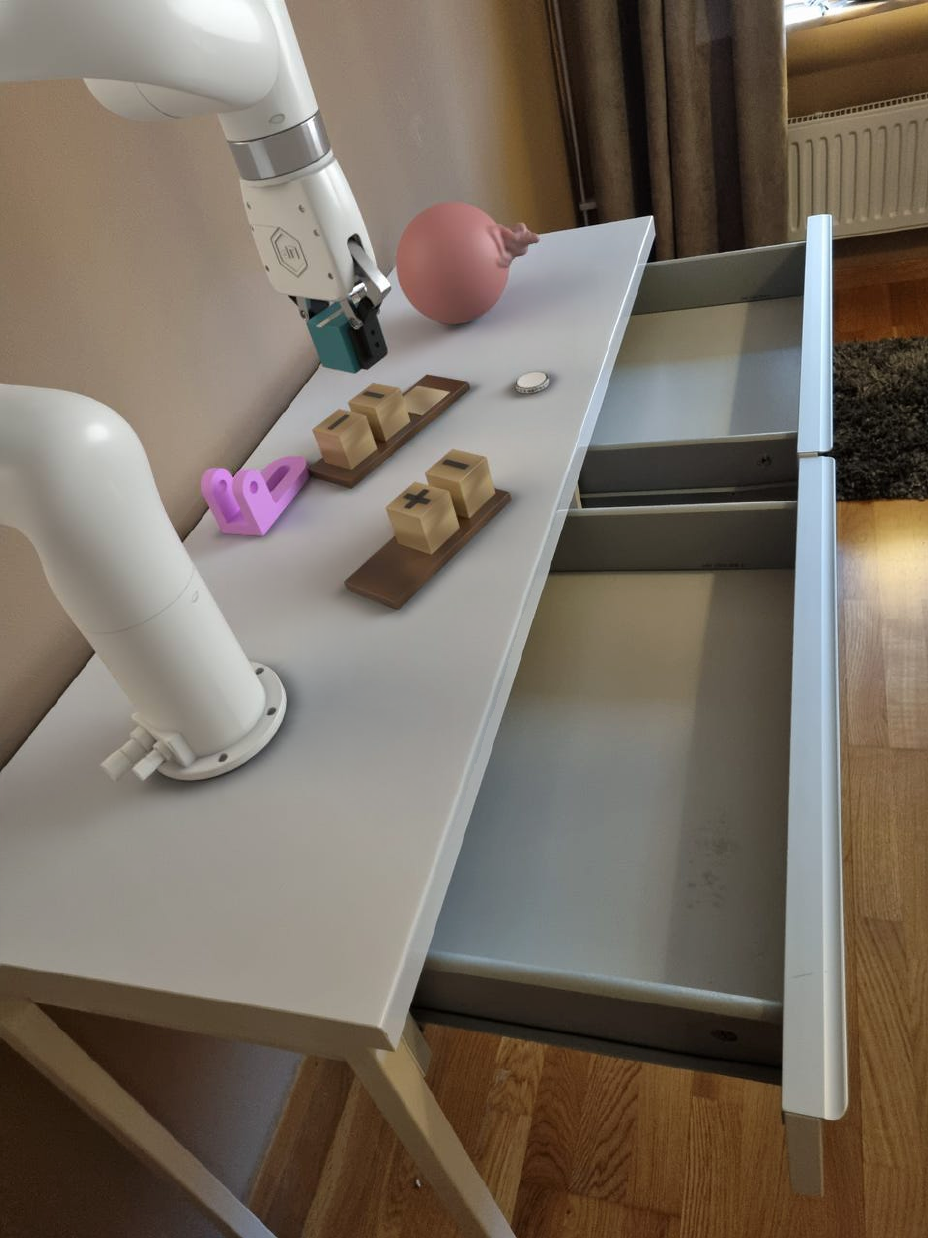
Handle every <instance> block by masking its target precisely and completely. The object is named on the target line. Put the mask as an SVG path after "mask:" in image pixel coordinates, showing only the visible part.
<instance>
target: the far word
mask: <svg viewBox="0 0 928 1238" xmlns="http://www.w3.org/2000/svg"><path fill="white" fill-rule="evenodd" d="M470 390H471V387H470V383H469V381H467V380H466V381H465V380H459V379H454V378H449V377H443V376H438V375H433V374H425V375H424V376H423V377H422V378H420V379H419V380H417V382H415V383H414V384H412V385H411V386H410V387H409V388H407V389H406V390H405V391H404V392H402V390H401V388H400V387H396V386H391V385H386V384H381V383H376V382H372V383H370V384H369V385H368V386H367V387H366V388H364V389H362V391H360V392H359V393H357V395H355V396H354V397H353V398H351V399H350V400H348V401H347V404H348V407H349V410H350V411H349V410H345V409H340V408H338V409H337V410H336V411H334V412H333V413H331V414H330V415H329V416H327V418H325V419H323V420H322V421H321V422H320V423H318V424H317V425H316V426H314V427H313V428H312V429H311V431H312V434H313V436H314V438H315V442H316V443H317V447H318V449H319V452H320V454H321V456H322V457H321V458H319V459H318V460H317V461H316V462H315V463H313V464H312V465H310V467H309V466H308V472H309V474H310V477H313V478H316V479H319V480H323V481H325V482H329V483H332V484H335V485H339V486H342V487H345V488H349V489H353V488H354V487H355V486H356V485H357V484H359V483H360V482H361V481H362V480H363V479H365V478H366V477H367V476H368V475H370V473H372V472H373V471H374V470H375V469H377V468H378V467H379V466H380V465H381V464H383V463H384V462H385V461H387V459H388V458H390V457H391V456H392V455H393V454H395V453H396V452H397V451H398V450H399V449H400V448H402V447H403V446H404V445H406V443H408V442H409V441H410V440H411V439H412V438H413V437H415V436H417V434H418V433H420V432H421V431H422V430H423V429H424V428H425V427H427V426H428V425H429V424H430V423H431V422H433V421H434V420H435V419H436V418H437V417H439V416H440V415H441V414H442V413H443V412H444V411H446V410H447V409H448V408H449V407H451V406H452V405H453V404H454V403H455V402H457V401H458V400H459V399H460V398H461V397H462V396H464V395H465V394H466V393H468V391H470Z"/></svg>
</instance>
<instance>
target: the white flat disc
mask: <svg viewBox="0 0 928 1238" xmlns="http://www.w3.org/2000/svg"><path fill="white" fill-rule="evenodd" d="M514 383H515V388H516V390H517V391H518V392H519V393H522V394H533V393H537V392H540V391H542V390H544V389H545V388H547V387H548V386H549V383H550V378H549V374H547V373H546V372H543V371H531V372H527V373H524V374H522V375H520V376H519V377H518V378H517V379H516V380H515V382H514Z"/></svg>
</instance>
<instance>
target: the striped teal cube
mask: <svg viewBox="0 0 928 1238" xmlns="http://www.w3.org/2000/svg"><path fill="white" fill-rule="evenodd" d="M352 301H353V303H354V305H355V307H356V308H357V306H358V303H359V301H360V297H355V298H354V299H352ZM377 319H378V322H379V325H380V328H381V331H382V334H383V337H384V340H385V343H386V346H387V349H388V345H387V342H386V339H385V336H384V333H383V330H382V327H381V322H380V320H379V317H378V316H377ZM305 323H306V327H307V329H308V332H309V334H310V337H311V340H312V343H313V345H314V348H315V351H316V353H317V355H318V359H319V361H320V364H321V366H322V367H323V368H326V369H330V370H335V371H341V372H344V373H350V374H357V373H359V372H360V371H361V370H362V369H361V367H360V365H359V362H358V359H357V356H356V353H355V350H354V347H353V345H352V342H351V339H350V336H349V333H348V329H349V328H351V327H352V326H351V325H350V323H349V321H348V319H347V317H346V315H345V313H344V311H343V309H342V307H341V305H340V303H339V302H332V304H330V305H329V307H327V308H326V309H324V310H323V311H321V312H320V313H319V314H317V315H316V316H314V317H313V318H311V319H310V320H309V321H305ZM388 350H389V349H388Z"/></svg>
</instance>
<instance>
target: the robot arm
mask: <svg viewBox="0 0 928 1238" xmlns="http://www.w3.org/2000/svg"><path fill="white" fill-rule="evenodd" d="M66 79H82V80H83V82H84V84H85V86H86V87H87V89H88V90H89V92H90V94H91V95H92V97H94V98H95V99H96V100H97V102H99V103H100V104H101V105H102V106H103V107H104V108H105V109H107V110H108V111H109V112H111V113H113V114H115V115H117V116H118V117H121V118H124V119H127V120H130V121H135V122H141V123H157V122H167V121H175V120H181V119H187V118H193V117H200V116H209V115H215V114H216V116H217V118H218V121H219V124H220V126H221V129H222V131H223V134H224V136H225V138H226V142H227V144H228V147H229V149H230V152H231V155H232V157H233V159H234V162H235V165H236V167H237V170H238V172H239V174H240V176H239V178H238V181H239V186H240V192H241V197H242V201H243V206H244V209H245V214H246V217H247V222H248V224H249V227H250V231H251V234H252V236H253V241H254V243H255V246H256V248H257V252H258V254H259V257H260V260H261V263H262V266H263V268H264V271H265V274H266V277H267V278H268V281H269V283H270V285H271V287H272V288H273V290H275V291H276V292H277V293H280V294H282V295H285V296H287V297H288V298H289V299H290V300H291V301H292V303H293V304H295V306H296V307H298V312H299V316H300V317H301V319H302V320H303V321H304V322H307V321H309V320H310V319H311V318H313V317H314V316H316V315H317V314H319V313H320V312H321V311H323V310H324V309H326V308H327V307H329V306H330V305H331V304H330V302H331V303H334V302H339V303H340V305H341V307H342V309H343V311H344V313H345V315H346V317H347V319H348V321H349V323H350V325H351V326H352V327H351V328H349V329H348V333H349V336H350V339H351V342H352V345H353V347H354V350H355V353H356V356H357V359H358V362H359V365H360V367H361V370H364V371H368V370H370V369H371V368H373V367H374V366H375V365H376V364H377V363H379V362H380V361H382V360H383V359H384V358H385V357H386V356H388V354H389V349H387V348H388V345H387V342H386V339H385V336H384V333H383V330H382V327H381V328H380V326H381V324H380V325H379V323H380V321H379V322H378V320H379V318H378V319H377V317H378V315H379V314H380V313H381V309H380V308H381V306H382V303H383V302H384V300H385V299H386V297H387V296H388V294H390V292H391V291H392V285H391V283H390V282H389V281H388V279H387V278H386V277H385V275H384V274H383V273H382V272H381V270H380V269H379V267H378V265H377V260H376V256H375V251H374V249H373V246H372V242H371V238H370V236H369V232H368V229H367V227H366V224H365V222H364V219H363V216H362V213H361V210H360V208H359V206H358V203H357V201H356V198H355V196H354V194H353V191H352V189H351V186H350V185H349V182H348V179H347V178H346V176H345V173H344V172H343V170H342V168H341V166H340V164H339V161H338V160H337V158H336V157H335V156H334V152H333V149H332V146H331V143H330V140H329V136H328V134H327V131H326V128H325V127H326V126H325V124H324V121H323V118H322V114H321V112H320V109H319V105H318V102H317V99H316V96H315V93H314V90H313V87H312V83H311V79H310V77H309V74H308V70H307V66H306V64H305V60H304V57H303V55H302V52H301V48H300V45H299V42H298V39H297V36H296V32H295V30H294V26H293V23H292V20H291V17H290V14H289V10H288V7H287V4H286V1H285V0H0V83H22V82H24V83H25V82H36V81H49V80H51V81H52V80H66ZM355 295H358V298H360V300H359V301H358V302H359V303H358V306H357V308H356V307H355V305H354V303H353V301H352V300H353V299H352V297H354V296H355ZM381 330H382V331H381ZM382 333H383V334H382ZM383 336H384V337H383ZM384 339H385V340H384ZM385 342H386V343H385ZM386 345H387V346H386ZM0 525H1V526H6V527H9V528H12V529H15V530H17V531H19V532H21V533H22V534H23V535H24V536H25V537H26V538H27V539H28V540H29V541H30V543H31V544H32V546H33V547H34V549H35V550H36V553H37V555H38V557H39V560H40V563H41V565H42V569H43V572H44V575H45V578H46V580H47V583H48V585H49V588H50V589H51V591H52V593H53V594H54V596H55V598H56V599H57V601H58V602H59V604H60V605H61V607H62V609H64V612H65V613H66V614H67V616H68V617H69V618H70V620H71V621H72V622H73V624H74V625H75V626H76V627H77V629H78V631H80V633H81V634H82V636H83V637H84V638H85V639H86V641H87V642H88V645H90V647H91V648H92V649H93V651H94V653H96V655H97V656H98V658H99V659H100V660H101V662H102V663H103V665H104V666H105V668H106V669H107V670H108V671H109V673H110V674H111V675H112V677H113V679H114V680H115V682H117V684H118V686H119V687H120V688H121V689H122V691H123V692H124V694H125V695H126V697H127V698H128V699H129V700H130V703H132V705H133V706H134V708H135V709H136V710H135V712H134V713H132V714H131V716H130V719H131V720H132V722H133V723H134V724H135V726H136V727H135V728H134V730H132V731H131V732H130V733H129V734H128V737H129V738H130V739H129V740H128V741H127V742H125V743H124V744H123V745H122V746H121V747H120V748H118V749H116V750H115V751H113V753H111V754H110V755H109V756H108V757H107V758H105V760H103V762H101V763H100V764H99V766H100V767H101V769H102V770H103V771H104V772H105V773H106V774H107V775H108V776H109V777H110V778H111V779H112V780H113V781H114V782H119V781H120V780H121V779H122V778H123V777H125V775H126V774H127V773H128V772H130V771H132V773H133V774H134V775H135V776H136V777H137V778H139V780H141V781H143V782H144V781H145V780H146V779H147V778H148V777H149V776H150V775H152V774H153V773H154V772H155V771H156V770H157V771H158V773H160V774H162V775H164V776H166V777H168V778H171V779H175V780H178V781H199V780H206V779H209V778H214V777H217V776H220V775H223V774H225V773H228V772H230V771H232V770H234V769H236V768H238V767H240V766H241V765H243V764H245V763H247V762H248V761H249V760H251V758H253V757H254V756H256V755H257V754H259V752H260V751H261V750H262V749H263V748H264V747H266V746H267V744H268V743H269V742H270V741H271V740H272V738H273V737H274V736H275V734H276V733H277V731H278V730H279V728H280V726H281V724H282V723H283V720H284V717H285V715H286V711H287V701H288V700H287V699H288V698H287V693H286V690H285V687H284V685H283V683H282V681H281V679H280V677H279V676H278V675H277V674H276V672H275V671H274V670H272V668H270V667H268V666H266V665H264V664H262V663H260V662H256V661H250V660H249V659H248V657H247V656H246V654H245V652H244V651H243V649H242V647H241V644H240V643H239V641H238V640H237V638H236V636H235V634H234V632H233V631H232V629H231V628H230V626H229V624H228V622H227V620H226V618H225V617H224V615H223V613H222V611H221V609H220V608H219V606H218V604H217V603H216V601H215V599H214V597H213V595H212V593H211V592H210V589H209V588H208V586H207V584H206V583H205V581H204V579H203V577H202V575H201V574H200V572H199V570H198V568H197V567H196V565H195V563H194V561H193V560H192V558H191V557H190V554H189V552H188V551H187V549H186V548H185V546H184V544H183V542H182V541H181V539H180V538H181V537H179V535H178V532H177V531H176V530H175V527H174V525H173V523H172V521H171V519H170V516H169V515H168V513H167V510H166V509H165V506H164V504H163V502H162V499H161V496H160V494H159V490H158V487H157V484H156V481H155V478H154V474H153V471H152V468H151V465H150V462H149V459H148V455H147V453H146V450H145V448H144V446H143V443H142V441H141V440H140V438H139V436H138V434H137V433H136V431H135V430H134V428H133V427H132V426H131V425H130V423H128V421H126V419H125V418H124V417H122V416H121V415H120V414H119V413H118V412H117V411H115V410H114V409H113V408H111V407H109V406H108V405H106V404H104V403H102V402H101V401H99V400H96V399H94V398H92V397H89V396H87V395H84V394H80V393H78V392H74V391H69V390H64V389H59V388H50V387H42V386H33V385H23V384H9V383H1V382H0ZM144 756H145V757H144Z"/></svg>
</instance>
